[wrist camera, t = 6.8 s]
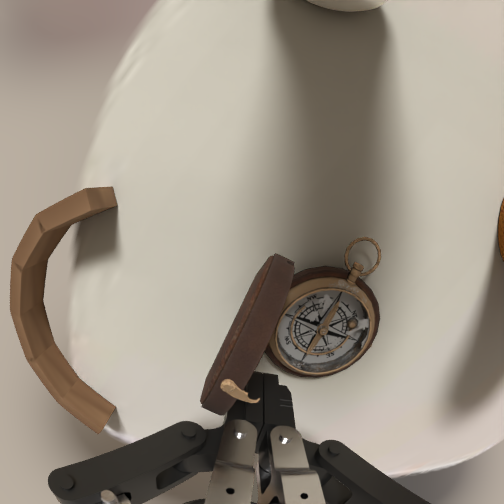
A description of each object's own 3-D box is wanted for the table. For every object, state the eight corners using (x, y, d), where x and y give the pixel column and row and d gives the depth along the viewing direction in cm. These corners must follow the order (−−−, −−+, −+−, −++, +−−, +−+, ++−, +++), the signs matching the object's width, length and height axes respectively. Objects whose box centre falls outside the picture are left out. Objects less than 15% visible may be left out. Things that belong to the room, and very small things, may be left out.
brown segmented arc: (120, 188, 13) (93, 189, 10) (116, 414, 16) (104, 436, 14) (35, 175, 13) (7, 176, 10) (48, 383, 16) (33, 400, 14)
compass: (339, 379, 15) (372, 476, 8) (212, 335, 14) (180, 439, 7) (411, 261, 13) (503, 317, 6) (278, 191, 13) (299, 199, 6)
